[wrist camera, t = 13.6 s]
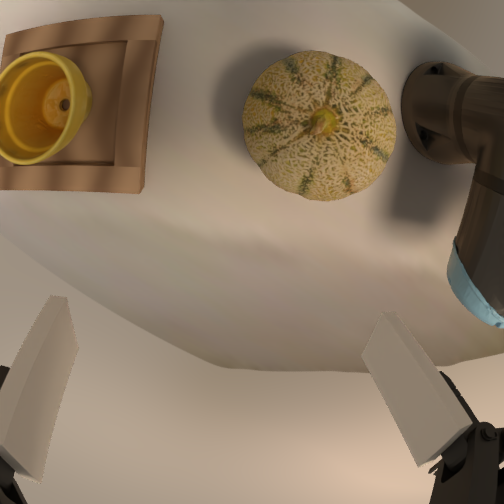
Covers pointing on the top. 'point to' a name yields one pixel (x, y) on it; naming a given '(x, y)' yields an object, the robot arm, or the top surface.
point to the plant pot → (40, 106)
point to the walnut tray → (96, 103)
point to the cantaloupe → (319, 126)
